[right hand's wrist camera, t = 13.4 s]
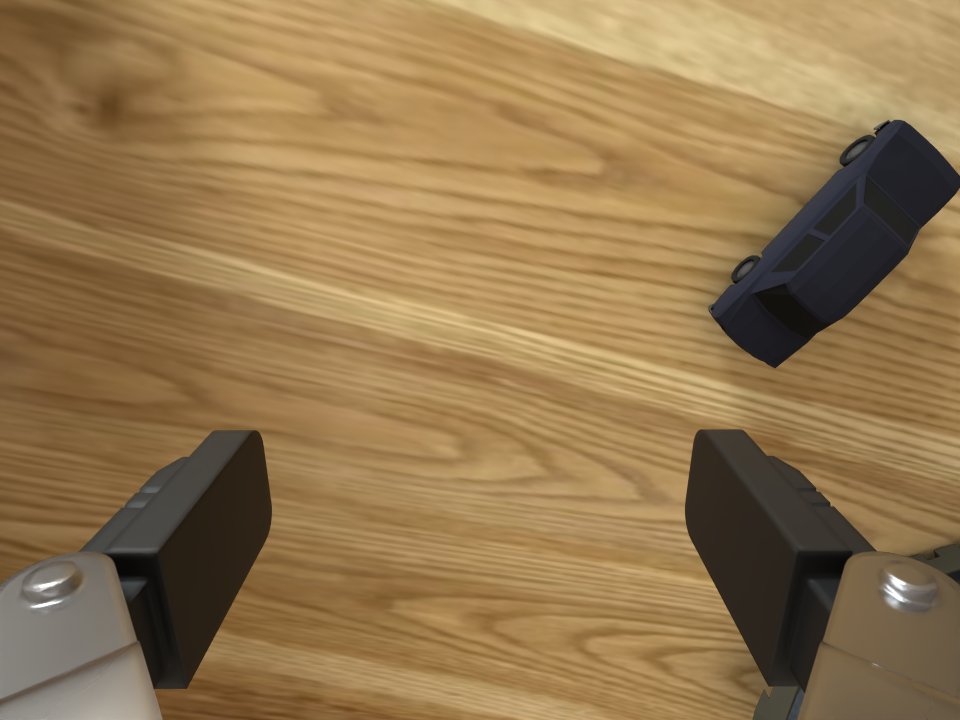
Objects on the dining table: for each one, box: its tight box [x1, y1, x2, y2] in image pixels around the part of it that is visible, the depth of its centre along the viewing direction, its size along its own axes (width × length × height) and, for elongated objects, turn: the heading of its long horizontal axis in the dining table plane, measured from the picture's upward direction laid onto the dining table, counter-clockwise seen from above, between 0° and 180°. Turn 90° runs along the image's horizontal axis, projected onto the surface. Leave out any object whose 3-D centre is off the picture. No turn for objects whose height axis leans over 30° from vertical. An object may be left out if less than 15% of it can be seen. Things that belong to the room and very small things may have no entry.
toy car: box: [708, 120, 960, 368], centre depth 35 cm, size 6×15×5 cm, turn 142°
